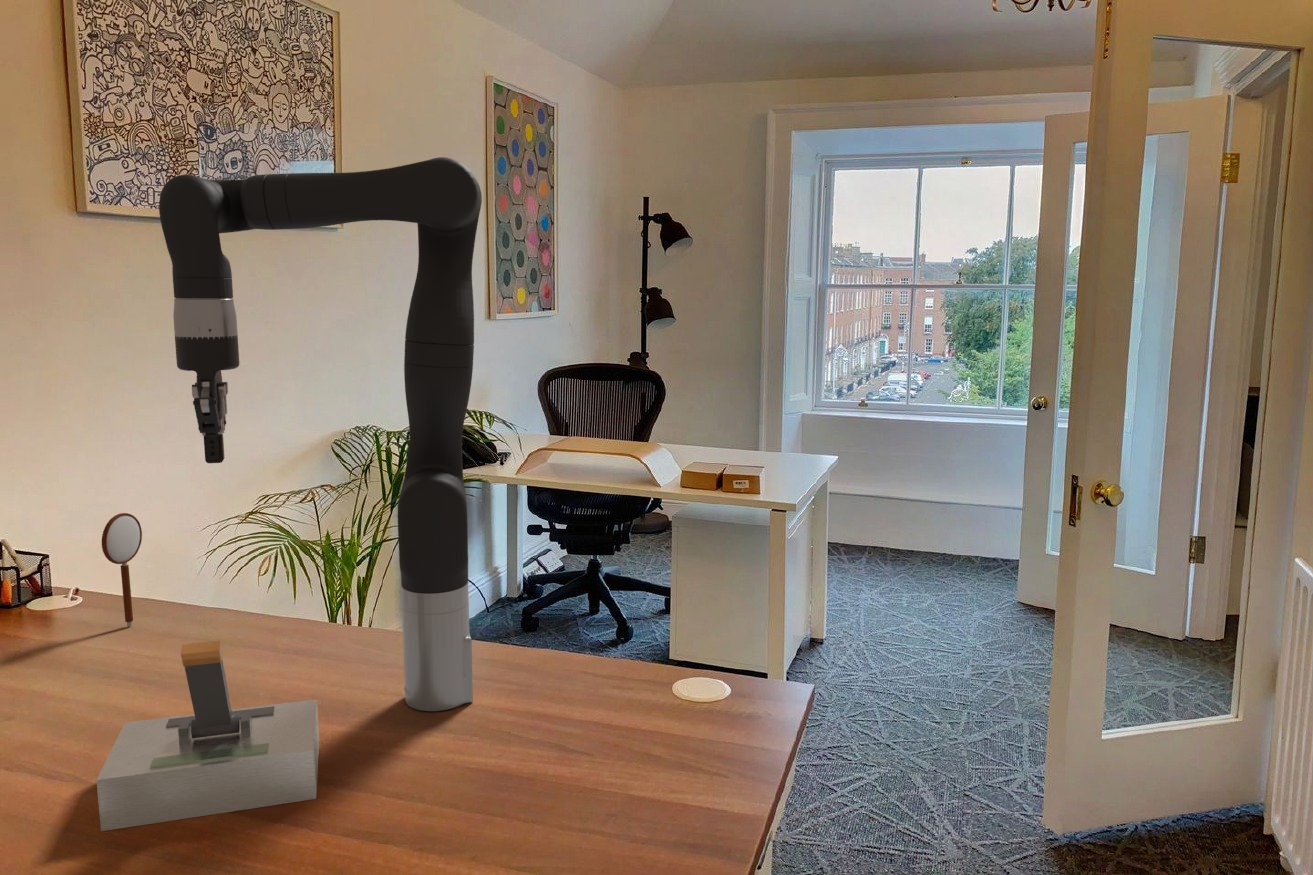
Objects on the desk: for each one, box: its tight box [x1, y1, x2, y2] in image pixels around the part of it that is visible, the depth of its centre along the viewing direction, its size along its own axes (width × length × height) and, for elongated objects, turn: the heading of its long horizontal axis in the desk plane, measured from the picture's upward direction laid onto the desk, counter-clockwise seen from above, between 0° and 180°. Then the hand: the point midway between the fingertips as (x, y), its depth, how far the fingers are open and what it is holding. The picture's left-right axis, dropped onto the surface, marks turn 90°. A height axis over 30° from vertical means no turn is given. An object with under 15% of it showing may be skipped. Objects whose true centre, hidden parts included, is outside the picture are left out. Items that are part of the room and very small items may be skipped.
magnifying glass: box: [101, 512, 143, 627], centre depth 160 cm, size 9×2×20 cm, turn 170°
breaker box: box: [95, 699, 320, 832], centre depth 111 cm, size 22×14×8 cm, turn 108°
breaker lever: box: [180, 640, 240, 739], centre depth 107 cm, size 5×2×15 cm, turn 108°
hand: (215, 461), depth 126 cm, fingers closed
